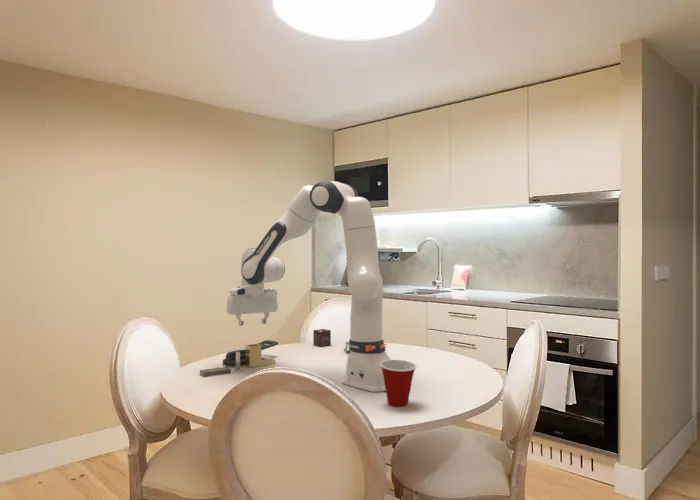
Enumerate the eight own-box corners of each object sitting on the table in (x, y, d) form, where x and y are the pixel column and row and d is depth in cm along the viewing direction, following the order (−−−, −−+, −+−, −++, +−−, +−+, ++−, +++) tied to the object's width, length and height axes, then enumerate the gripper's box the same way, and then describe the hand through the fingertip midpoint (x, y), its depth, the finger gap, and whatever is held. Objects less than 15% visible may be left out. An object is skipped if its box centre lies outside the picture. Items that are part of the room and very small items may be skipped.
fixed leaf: (243, 371, 197) (243, 353, 197) (203, 377, 190) (203, 357, 189) (238, 369, 201) (238, 350, 201) (200, 374, 194) (199, 355, 194)
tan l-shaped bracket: (270, 362, 214) (270, 342, 214) (275, 364, 209) (275, 344, 209) (245, 365, 208) (245, 345, 208) (249, 367, 204) (249, 347, 204)
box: (323, 344, 253) (323, 328, 253) (331, 345, 249) (331, 330, 249) (313, 345, 250) (313, 330, 249) (320, 347, 245) (320, 331, 245)
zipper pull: (280, 341, 223) (234, 351, 203) (280, 357, 223) (234, 368, 203) (265, 339, 229) (219, 348, 209) (265, 354, 229) (219, 365, 209)
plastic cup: (396, 411, 148) (396, 369, 148) (372, 402, 157) (372, 362, 157) (424, 405, 155) (424, 364, 155) (400, 396, 163) (399, 357, 163)
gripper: (274, 287, 215) (274, 321, 215) (225, 289, 204) (225, 325, 205) (280, 288, 210) (280, 323, 210) (230, 291, 199) (230, 327, 199)
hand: (252, 324), depth 207 cm, fingers open, 8 cm apart
